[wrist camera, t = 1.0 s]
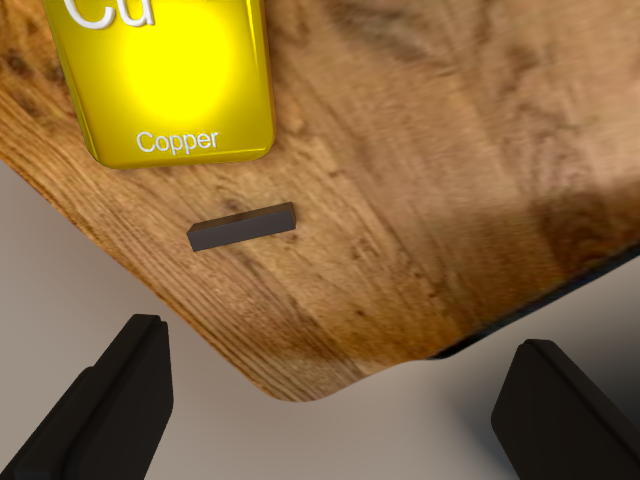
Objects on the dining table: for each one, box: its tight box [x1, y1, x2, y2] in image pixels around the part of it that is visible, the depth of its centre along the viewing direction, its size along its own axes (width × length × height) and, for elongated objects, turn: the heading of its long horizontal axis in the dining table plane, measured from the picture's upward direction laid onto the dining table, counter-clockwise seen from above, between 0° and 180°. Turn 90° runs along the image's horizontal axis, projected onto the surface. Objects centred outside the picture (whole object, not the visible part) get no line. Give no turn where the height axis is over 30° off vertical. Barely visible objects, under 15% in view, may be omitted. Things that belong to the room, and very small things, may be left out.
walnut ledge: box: [186, 202, 296, 252], centre depth 35 cm, size 2×10×2 cm, turn 103°
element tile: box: [42, 0, 277, 169], centre depth 28 cm, size 15×15×5 cm
